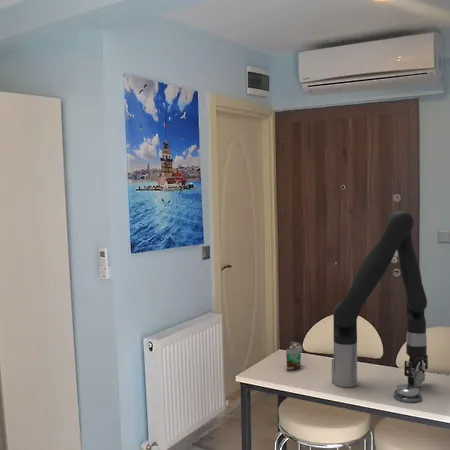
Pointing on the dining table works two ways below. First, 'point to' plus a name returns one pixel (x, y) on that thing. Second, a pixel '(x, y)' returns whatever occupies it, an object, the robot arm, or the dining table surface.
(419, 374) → the frog figurine
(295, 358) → the food container
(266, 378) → the dining table surface
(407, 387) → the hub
